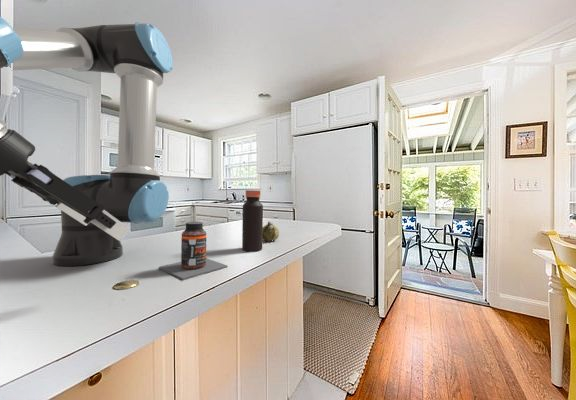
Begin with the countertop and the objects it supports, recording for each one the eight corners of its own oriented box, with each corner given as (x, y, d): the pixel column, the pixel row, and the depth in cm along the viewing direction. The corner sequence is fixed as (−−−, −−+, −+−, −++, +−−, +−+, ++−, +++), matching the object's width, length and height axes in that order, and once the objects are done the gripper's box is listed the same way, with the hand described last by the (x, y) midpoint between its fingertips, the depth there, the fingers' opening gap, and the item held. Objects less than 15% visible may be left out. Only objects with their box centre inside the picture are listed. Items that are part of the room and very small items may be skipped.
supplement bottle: (197, 271, 58) (198, 224, 57) (176, 269, 59) (175, 223, 58) (210, 263, 64) (210, 221, 63) (190, 261, 65) (190, 220, 64)
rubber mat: (159, 268, 60) (159, 266, 60) (202, 258, 70) (202, 256, 70) (182, 280, 53) (182, 278, 53) (227, 267, 62) (227, 265, 62)
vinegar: (238, 249, 81) (238, 190, 80) (253, 245, 86) (253, 190, 85) (251, 253, 76) (252, 190, 76) (266, 249, 82) (267, 190, 81)
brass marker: (110, 285, 49) (110, 284, 49) (134, 279, 53) (134, 278, 53) (117, 291, 47) (117, 290, 47) (142, 284, 50) (142, 283, 50)
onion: (283, 240, 96) (284, 221, 95) (269, 244, 90) (269, 222, 89) (270, 238, 101) (270, 219, 100) (255, 240, 95) (256, 220, 94)
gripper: (-64, 154, 38) (64, 229, 53) (-27, 168, 26) (124, 259, 41) (-13, 126, 42) (92, 203, 57) (39, 127, 30) (155, 224, 45)
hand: (106, 227), depth 49 cm, fingers open, 13 cm apart
